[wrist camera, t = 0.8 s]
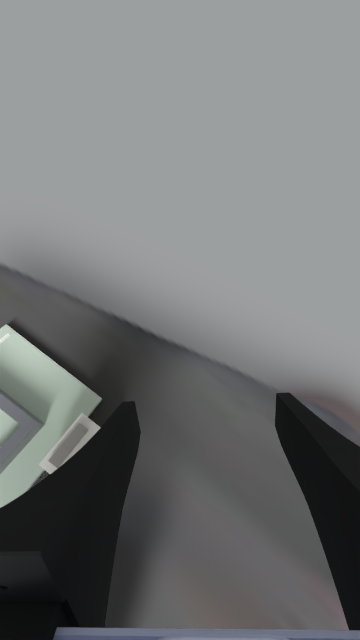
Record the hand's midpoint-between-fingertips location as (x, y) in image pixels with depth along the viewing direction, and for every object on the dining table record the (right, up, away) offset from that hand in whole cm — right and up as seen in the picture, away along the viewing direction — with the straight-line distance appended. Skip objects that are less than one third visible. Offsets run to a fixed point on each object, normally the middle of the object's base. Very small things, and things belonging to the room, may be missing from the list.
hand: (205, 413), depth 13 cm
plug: (-10, -7, +10) cm, 16 cm away
